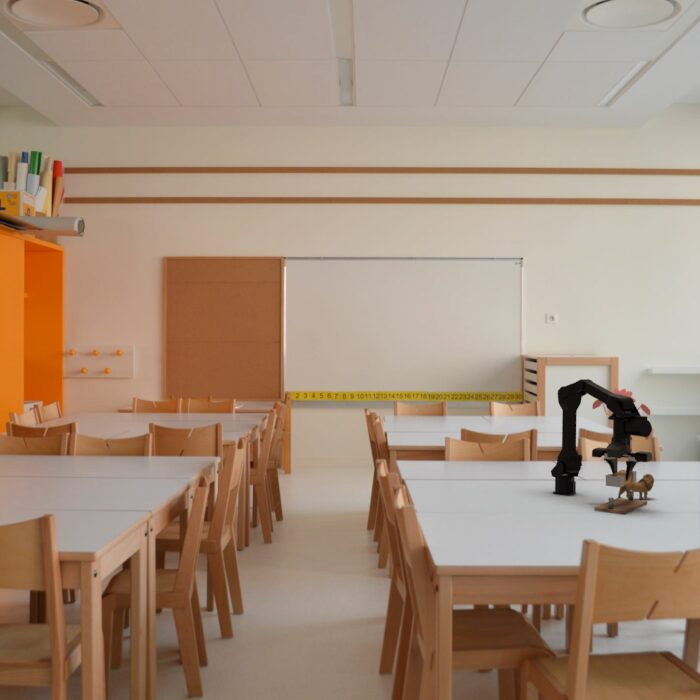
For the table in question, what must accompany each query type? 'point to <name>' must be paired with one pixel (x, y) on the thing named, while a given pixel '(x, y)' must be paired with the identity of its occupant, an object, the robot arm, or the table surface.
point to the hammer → (620, 479)
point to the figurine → (623, 392)
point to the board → (621, 505)
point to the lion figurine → (639, 486)
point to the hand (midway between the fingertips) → (621, 480)
